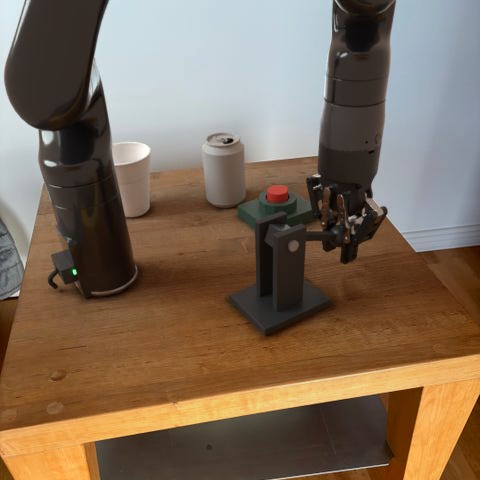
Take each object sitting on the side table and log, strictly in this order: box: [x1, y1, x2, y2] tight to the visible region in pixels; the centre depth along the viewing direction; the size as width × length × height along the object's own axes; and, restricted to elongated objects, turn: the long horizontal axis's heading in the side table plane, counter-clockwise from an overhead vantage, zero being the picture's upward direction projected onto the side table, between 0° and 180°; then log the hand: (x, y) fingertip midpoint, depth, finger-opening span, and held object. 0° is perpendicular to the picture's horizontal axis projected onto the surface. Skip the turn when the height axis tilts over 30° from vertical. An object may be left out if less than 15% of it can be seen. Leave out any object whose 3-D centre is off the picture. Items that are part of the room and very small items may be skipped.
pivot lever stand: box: [228, 211, 331, 337], centre depth 66 cm, size 11×9×13 cm
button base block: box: [237, 188, 316, 230], centre depth 88 cm, size 11×9×4 cm
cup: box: [112, 141, 152, 218], centre depth 89 cm, size 10×10×11 cm
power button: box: [267, 184, 289, 203], centre depth 86 cm, size 4×4×2 cm
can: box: [201, 131, 247, 209], centre depth 91 cm, size 8×8×12 cm
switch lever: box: [265, 223, 343, 249], centre depth 67 cm, size 14×3×3 cm, turn 122°
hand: (338, 255), depth 72 cm, fingers closed on switch lever, 3 cm apart
